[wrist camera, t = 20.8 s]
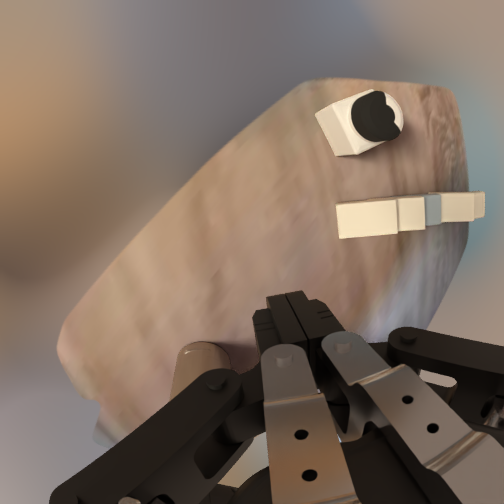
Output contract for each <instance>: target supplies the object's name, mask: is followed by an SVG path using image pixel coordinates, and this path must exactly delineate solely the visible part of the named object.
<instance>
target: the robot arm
mask: <svg viewBox="0 0 504 504" xmlns="http://www.w3.org/2000/svg"><path fill="white" fill-rule="evenodd" d="M266 302H267V309H261V310H256V311H255V313H254V315H253V317H252V319H253V325H254V331H255V338H256V344H257V349H258V354H259V359H260V361H259V363H258V364H257V365H256V366H255V367H254V368H253V369H251V370H250V371H248V372H246V373H243V374H241V375H239V374H238V373H237V372H235V371H233V370H231V367H230V359H229V357H228V355H227V353H226V352H225V351H224V350H223V349H222V348H220V347H219V346H217V345H215V344H211V343H207V342H196V343H192V344H189V345H187V346H186V347H184V348H183V349H182V350H181V351H180V352H179V354H178V357H177V362H176V367H175V372H174V377H173V383H172V388H171V394H170V400H169V402H168V403H167V404H166V405H165V406H164V407H162V408H161V409H160V410H159V411H158V412H156V413H155V414H154V415H153V416H151V417H150V418H149V419H148V420H147V421H145V422H144V423H143V424H142V425H140V426H139V427H138V428H137V429H135V430H134V431H133V432H132V433H130V434H129V435H128V436H126V437H125V438H124V439H123V440H121V441H120V442H119V443H117V444H116V445H115V446H114V447H112V448H111V449H110V450H108V451H107V452H106V453H104V454H103V455H102V456H100V457H99V458H98V459H96V460H95V461H94V462H92V463H91V464H89V465H88V466H87V467H85V468H84V469H83V470H81V471H80V472H78V473H77V474H76V475H74V476H72V477H71V478H70V479H68V480H67V481H65V482H64V483H62V484H61V485H59V486H58V487H57V488H56V489H55V490H54V491H53V492H52V494H51V496H50V500H49V504H504V346H499V345H493V344H488V343H483V342H478V341H473V340H469V339H464V338H459V337H453V336H450V335H445V334H440V333H436V332H431V331H427V330H423V329H418V328H414V327H401V328H397V329H395V330H393V331H392V332H391V333H390V334H389V337H388V342H380V343H367V342H366V341H365V340H364V339H363V338H362V337H361V336H360V335H358V334H356V333H353V332H348V331H345V329H344V328H343V327H342V325H341V324H340V323H339V321H338V320H337V319H336V317H335V316H334V315H333V313H332V312H331V311H330V309H329V308H328V307H327V305H326V304H325V303H323V302H321V301H319V300H317V299H314V300H308V298H307V297H306V295H305V294H304V292H303V291H302V290H301V291H295V292H290V293H285V294H279V295H274V296H268V297H266ZM421 369H422V370H426V371H429V372H434V373H438V374H441V375H445V376H449V377H452V378H454V379H455V380H456V381H457V383H456V384H455V385H454V386H453V387H444V386H440V385H436V384H432V383H428V382H425V381H423V380H422V379H421V378H420V377H419V375H420V371H421ZM317 389H319V390H320V392H321V393H318V390H317ZM264 432H266V437H267V448H268V458H269V466H268V467H266V468H264V469H262V470H260V471H259V472H257V473H255V474H254V475H253V476H251V477H250V478H249V479H247V480H246V481H245V482H244V483H243V484H242V485H241V486H240V487H239V488H236V487H231V486H225V485H221V484H217V483H218V482H219V481H220V480H221V479H222V478H223V477H224V476H225V475H226V473H227V472H228V471H229V470H230V469H231V468H232V466H233V465H234V464H235V463H236V462H237V461H238V459H239V458H240V457H241V456H242V455H243V453H244V452H245V451H246V450H247V448H248V447H249V446H250V445H251V443H252V442H253V439H254V437H255V436H257V435H259V434H261V433H264ZM337 434H338V435H337ZM338 436H339V438H340V439H341V442H340V441H339V438H338Z"/></svg>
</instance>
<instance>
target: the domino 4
mask: <svg viewBox="0 0 504 504" xmlns="http://www.w3.org/2000/svg"><path fill="white" fill-rule="evenodd" d="M428 193H429V194H433V193H436V194H440V195H441V222H463V221H474V193H472V192H428Z"/></svg>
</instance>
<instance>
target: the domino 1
mask: <svg viewBox="0 0 504 504" xmlns="http://www.w3.org/2000/svg"><path fill="white" fill-rule="evenodd" d="M336 212H337V222H338V232H339V239H341V238H352V237H363V236H375V235H386V234H397V210H396V200H395V199H394V198H388V199H375V200H363V201H352V202H341V203H336Z"/></svg>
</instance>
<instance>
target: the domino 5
mask: <svg viewBox="0 0 504 504" xmlns="http://www.w3.org/2000/svg"><path fill="white" fill-rule="evenodd" d="M472 193H474V219H476V218H480V217H484V213H485V192H482V191H472Z"/></svg>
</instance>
